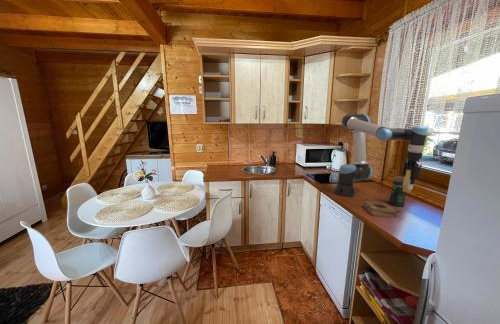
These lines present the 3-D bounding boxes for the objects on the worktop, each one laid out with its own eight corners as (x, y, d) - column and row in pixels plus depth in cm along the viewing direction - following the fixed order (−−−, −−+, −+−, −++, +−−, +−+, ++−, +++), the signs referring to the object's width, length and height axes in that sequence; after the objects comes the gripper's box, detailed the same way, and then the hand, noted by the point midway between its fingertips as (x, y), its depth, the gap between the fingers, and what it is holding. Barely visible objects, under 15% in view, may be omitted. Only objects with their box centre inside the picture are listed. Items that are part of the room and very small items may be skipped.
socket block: (363, 206, 144) (364, 201, 143) (384, 208, 142) (385, 202, 141) (372, 215, 130) (373, 209, 130) (396, 217, 129) (397, 211, 128)
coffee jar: (405, 207, 144) (410, 181, 140) (393, 206, 146) (397, 180, 142) (399, 202, 153) (404, 178, 149) (387, 200, 155) (391, 177, 151)
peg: (401, 189, 136) (405, 169, 133) (408, 190, 136) (412, 169, 132) (404, 192, 132) (409, 171, 129) (412, 192, 131) (417, 171, 128)
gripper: (400, 149, 137) (393, 182, 142) (417, 153, 120) (409, 191, 125) (412, 149, 136) (405, 183, 141) (431, 154, 119) (422, 192, 124)
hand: (407, 187), depth 133 cm, fingers closed on peg, 4 cm apart
